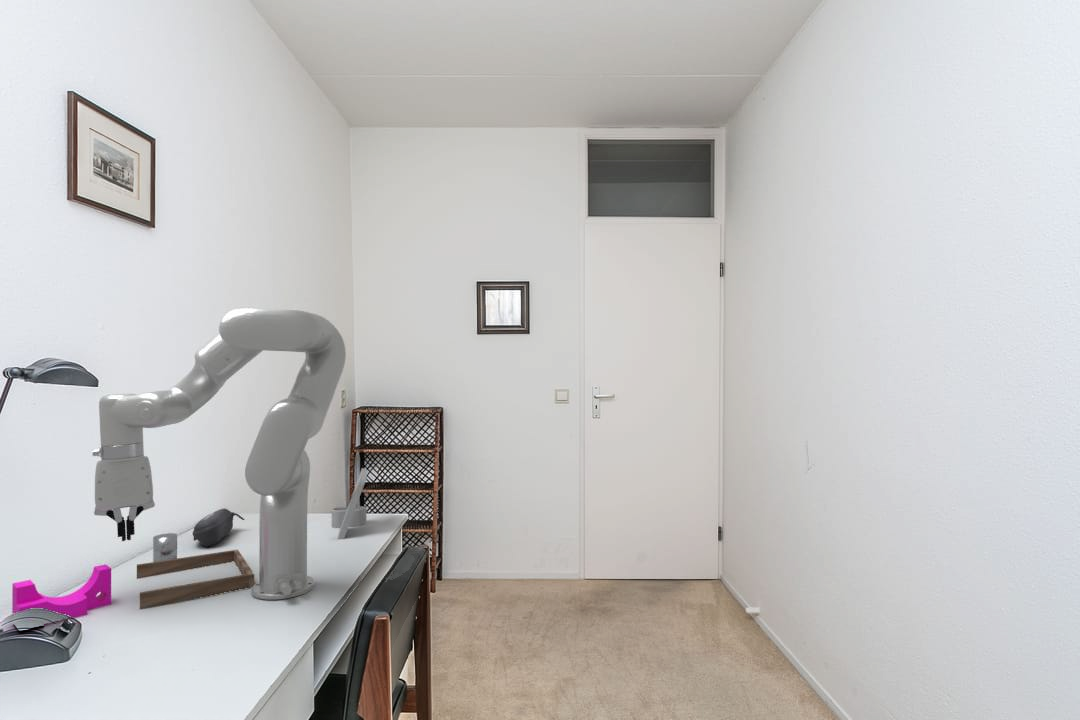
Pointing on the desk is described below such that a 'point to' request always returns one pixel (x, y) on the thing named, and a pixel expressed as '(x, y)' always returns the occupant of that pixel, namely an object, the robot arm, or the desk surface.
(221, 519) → the glasses case
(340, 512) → the phone holder
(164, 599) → the bay
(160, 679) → the desk surface
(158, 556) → the metal peg
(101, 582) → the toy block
